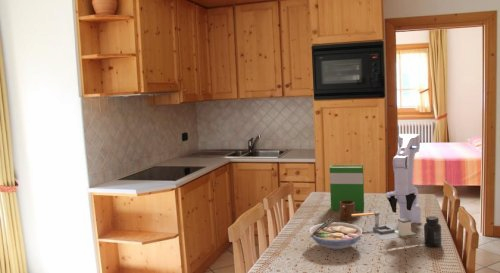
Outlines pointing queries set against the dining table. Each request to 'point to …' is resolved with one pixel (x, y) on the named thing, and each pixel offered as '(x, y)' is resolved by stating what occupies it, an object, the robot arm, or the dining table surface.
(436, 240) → the supplement bottle
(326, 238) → the ramen bowl
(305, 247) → the dining table surface
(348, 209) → the mug
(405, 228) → the plug
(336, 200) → the green cereal box
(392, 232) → the socket board
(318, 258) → the dining table surface
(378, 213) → the orange flat bar
